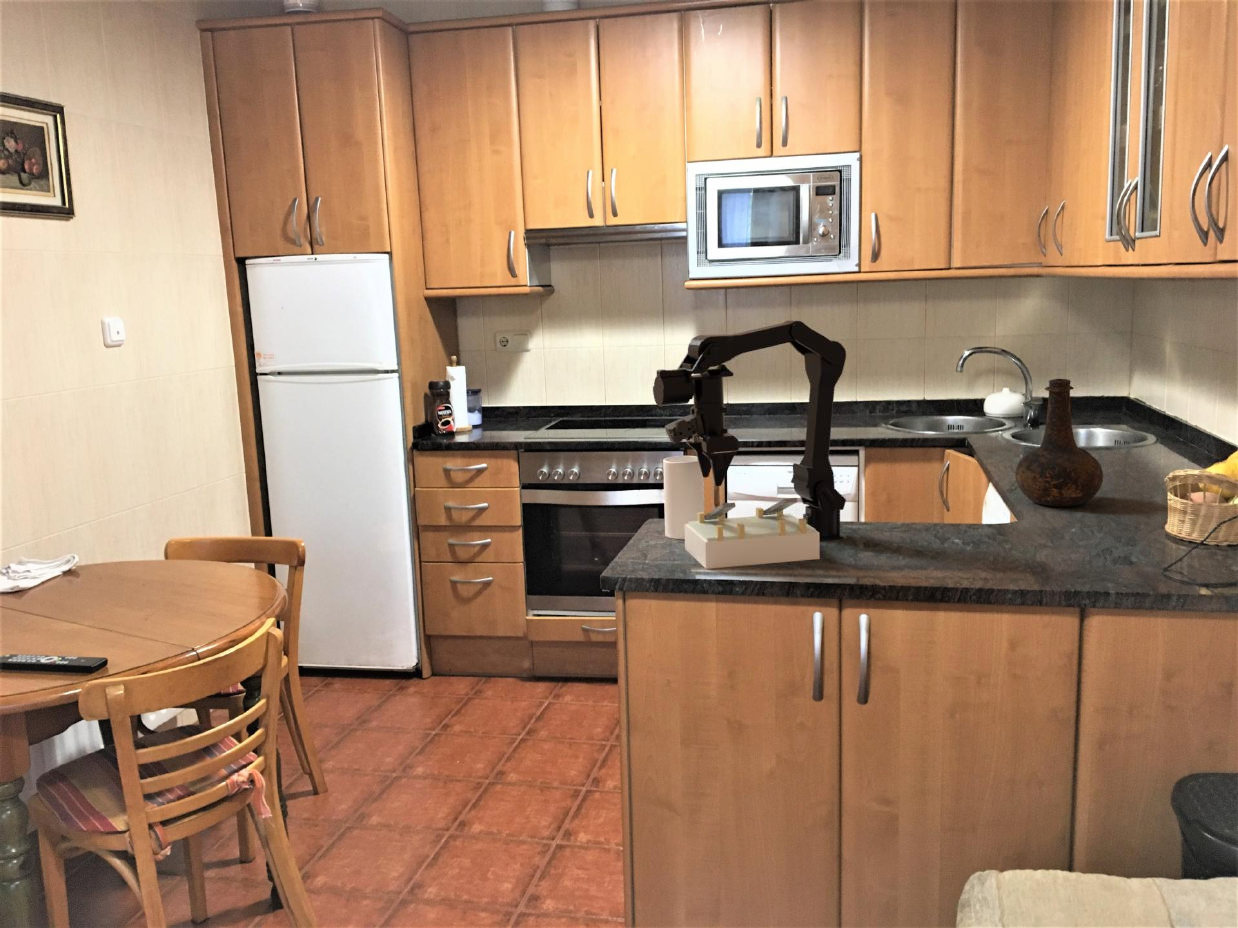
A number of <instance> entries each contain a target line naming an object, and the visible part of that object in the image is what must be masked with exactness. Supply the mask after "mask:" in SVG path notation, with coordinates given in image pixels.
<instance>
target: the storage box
mask: <svg viewBox="0 0 1238 928" xmlns="http://www.w3.org/2000/svg"><path fill="white" fill-rule="evenodd" d="M763 510H764V508H763V507H759V506H758V507H757V506H756V507H755V516H754V515H753V516H744V517H743V516H742V517H729V518H727V517H725V514H726V513H725V514H724V515H722V516H720V517H719V518H718V519H712V520H705V518H704V516H705V512H704V513H703V512H697V521H689V522H688V524H685V539H684V549H685V550H686V551H687V552H688V553H689V554H690V555H691V556H692V557H693V558H694V559H695V560H696V561H697V562H698V563H699V564H700V565H701V566H703V567H704V569H707V570H710V569H720V568H731V567H732V568H733V567H743V566H754V565H765V564H766V565H767V564H775V563H776V564H777V563H787V562H788V563H789V562H802V561H810V560H820V540H819V532H817V531H816V529H814V528H813V527H811V526H809V525H808V524H806V519H804V518H803V517H802V518H797V517H796V516H795V515H793V514H791V513H784V510H782V511H780V512H778V513H776V514H775V515H763Z"/></svg>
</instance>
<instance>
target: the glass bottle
mask: <svg viewBox="0 0 1238 928" xmlns="http://www.w3.org/2000/svg"><path fill="white" fill-rule="evenodd" d="M1074 389H1075V388H1074V387H1073V386H1072V385H1071V379H1068V378H1054V379H1050V380H1048V386H1046V387H1045V388H1044V390H1045V391H1046V392H1048V399H1047V410H1046V411H1047V413H1046V420H1045V427H1044V432H1043V438H1042V441H1041V444H1040V446H1039V447H1038V448H1037V449H1034V450H1033V451H1030V452H1028V453H1026V454H1025V455H1024V456H1023V457H1021V458H1020V460H1019V461H1018V463H1017V465H1016V469H1015V474H1014V478H1015V481H1016V484H1017V487H1018V488H1019V490H1020V491H1021V493H1023V495H1025V497H1026V498H1028V499H1029V500H1030V501H1032V502H1033V503H1036V504H1039V505H1041V506H1042V505H1043V506H1049V507H1058V508H1059V507H1061V508H1063V507H1064V508H1065V507H1075V506H1080V505H1082V504H1085V503H1087V502H1089V501H1090V500H1092V499H1093V498H1094V497H1095V495H1097V494H1098V492H1099V491H1100V489H1101V487H1102V484H1103V482H1104V481H1103V480H1104V473H1103V469H1102V466H1101V463H1100V462H1099V460H1098V459H1097V458H1096V457H1095V456H1093V455H1092V454H1091V453H1090V452H1088V450H1086V449H1084V448H1081V447H1078V445H1077V443H1076V440H1075V436H1074V433H1073V424H1072V415H1071V414H1072V413H1071V390H1074Z"/></svg>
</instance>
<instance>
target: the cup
mask: <svg viewBox="0 0 1238 928" xmlns="http://www.w3.org/2000/svg"><path fill="white" fill-rule="evenodd" d="M662 462H663V463H662V465H663V466H662V467H663V496H664V497H663V499H664V501H663V503H664V505H663V506H664V534H665V535H664V536H665V537H666V538H668V539H669V538H670V539H675V540H685V524H688V522H689V521H697V512H703V513H704V514H705V491H704V490H705V487H704V483H705V482H704V479H705V478H704V477H703V476H702V473H701V469H700V466H699V462H698V459H697V455H676V456H668V457H665V458H663V461H662Z"/></svg>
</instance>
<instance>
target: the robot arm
mask: <svg viewBox="0 0 1238 928" xmlns="http://www.w3.org/2000/svg"><path fill="white" fill-rule="evenodd" d="M788 343H789V344H790V345H791V346H792V347H793V348H794V349H795V351H796V352H798V353H799V354H801V356H803V357H804V358H803V359H804V368H805V370H804V371H805V372H806V376H807V379H808V382H809V397H808V407H807V421H806V431H805V444H804V455H803V457H802V458H801V461H800V462H799V463H796V462H793V464H792V479H791V480H790V483H792V484H793V489H794V492H795V493H796V494H797V495H798V496H799V497H800V500H801V503H802V505H805V513H803V514H802V518H804V519H806V524H808V525H809V526H811V527H813V528H814V529H816V531H817V532H819V541H828V540H839V539H840V540H841V539H844V535H843V534H841V510H844V508H845V505H846V502H847V499H846V498H845V497H844V496H843V495H842V494H841V493H840V492H839V491H838V490H837V489H835V488H836V486H835V474H834V471H833V467H832V464H831V461H830V445H831V435H832V434H831V433H832V423H833V412H834V411H833V409H834V400H835V399H834V397H835V390H836V389H835V388H836V385H837V383H838V382H839V380H840V378H841V376H842V374H843V372H844V368H845V364H846V360H847V350H846V348H845V347H844V345H842V343H840V342H839V341H836V340H830V339H829V338H827V337H826V336H825V335H823V334H822V333H820V332H818V331H816V330H814V329H813V328H811V327H809V326H808V325H807V324H806V323H804V322H803V321H801V320H791V319H790V320H785V321H784V322H782V323H781V322H780V323H777V324H774V325H768V326H765V327H758V328H755V329H751V330H746V331H742V332H737V333H733V334H701V335H696V336H694V337H692V338H691V340H690V342H689V343H688V346H687V353H686V354H685V356H684V358H683V359H682V361H681V363H680V364H679V366H678V367H677V369H675V368H674V369H657V370H656V376H655V379H654V382H653V386H652V394H653V399H654V402H655V404H656V405H657V406H658V407H664V406H665V407H666V406H675V405H676V406H677V405H684V404H685V405H686V404H689V402H690V401H691V400H693V406H691V407H690V409H689V414H688V415H686V416H684V417H682V418H681V417H680V418H679V419H676V420H675V421H673V422H670V423H668V424H665V426H664V429H665V432H666V435H667V436H668V440H669V441H670V443H673V444H674V445H676V444H679V443H681V442H682V441H684V440H685V442H686V444H687V445H689V446H690V447H691V448H692V449H693V451H694V452H695V456H697V459H698V462H699V466H700V469H701V473H702V476H703V478H704V479H705V478H709V477H710V474H711V472H712V477H713V478H712V479H713V482H714V486H715V487H721V486H722V485H723V482H724V479H725V478H726V475H727V472H728V470H729V468H730V466H731V463H732V461H733V459H734V457H735V455H736V454H737V452H738V451H740V447H739V445H740V444H739V443H740V441H739V439H738V438H737V437H736V436H734V435H733V434H731V433H730V432H729V431H728V428H727V427H726V426H725V413H727V412H728V407H727V406H725V403H724V402H725V401H724V378H729V377H734V375H735V374H734V372H733V371H731V370H730V369H729V368H728V367H727V365H726V364H724V363H727V362H730V361H731V360H733V359H735V358H736V357H737V356H740V355H742V354H745V353H750V352H755V351H758V350H762V349H767V348H771V347H776V346H779V345H783V344H788ZM713 367H714V368H713Z"/></svg>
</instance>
